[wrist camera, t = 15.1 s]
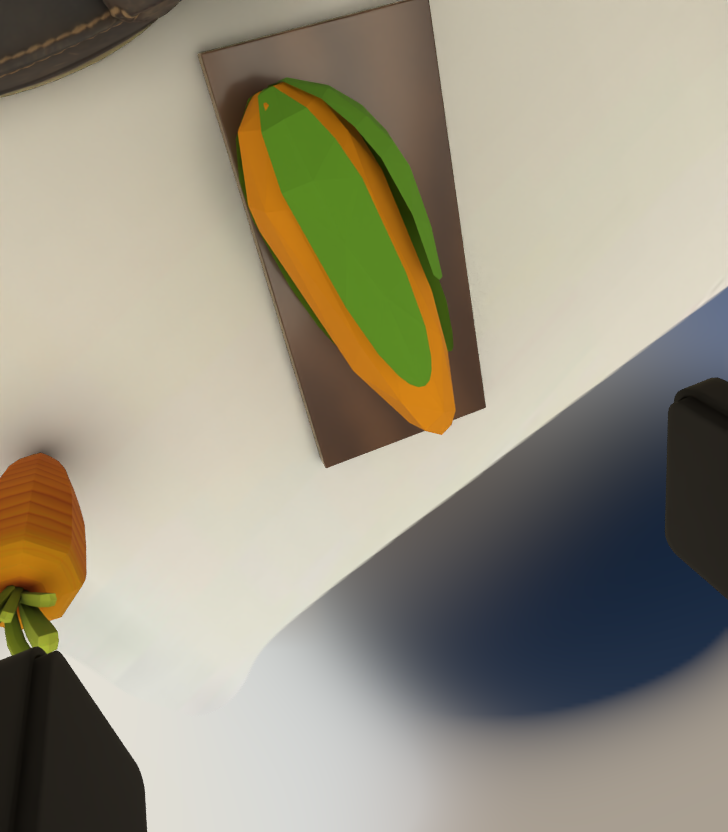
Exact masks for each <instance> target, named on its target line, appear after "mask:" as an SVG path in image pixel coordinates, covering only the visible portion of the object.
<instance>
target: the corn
mask: <svg viewBox="0 0 728 832" xmlns="http://www.w3.org/2000/svg"><path fill="white" fill-rule="evenodd" d="M282 81H283V82H282ZM236 149H237V161H238V173H239V182H240V185H241V188H242V191H243V194H244V197H245V200H246V203H247V206H248V209H249V212H250V215H251V218H252V220H253V222H254V224H255V225H256V227H257V229H258V231H259V233H260V234H261V236H262V238H263V240H264V242H265V243H266V245H267V247H268V249H269V250H270V252H271V254H272V256H273V258H274V259H275V261H276V263H277V265H278V267H279V268H280V270H281V272H282V274H283V276H284V277H285V279H286V281H287V283H288V284H289V286H290V287H291V289H292V290H293V292H294V293H295V294H296V296H297V297H298V299H299V300H300V302H301V303H302V304H303V306H304V307H305V309H306V310H307V311H308V313H309V314H310V316H311V317H312V319H313V320H314V321H315V323H316V324H317V326H318V327H319V328H320V329H321V330H322V331H323V332H324V333H325V335H326V336H327V337H328V338H329V339H330V340H331V341H332V342H333V343H334V344H336V346H337V347H338V349H339V350H340V352H341V353H342V355H343V356H344V358H345V359H346V361H347V362H348V364H349V365H350V367H351V368H352V370H353V371H354V372H355V373H356V374H357V375H358V376H359V377H360V378H361V379H362V380H364V381H365V382H366V383H367V384H368V385H369V386H370V387H371V388H372V389H373V390H374V391H376V392H377V393H378V394H379V395H380V396H381V397H382V398H383V399H384V400H385V401H386V402H387V403H389V404H390V405H391V406H392V407H393V408H394V409H395V410H396V411H397V412H398V413H399V414H400V415H402V416H403V417H404V418H405V419H406V420H407V421H408V422H409V423H411V424H413V425H415V426H417V427H419V428H421V429H423V430H425V431H428V432H432V433H436V434H440V435H442V434H443V433H444V432H445V431H446V430H447V429H448V428H449V427H450V426H451V424H452V421H453V418H454V414H455V411H456V410H455V402H454V395H453V387H452V380H451V372H450V364H449V357H448V351H452V349H453V333H452V327H451V322H450V316H449V311H448V306H447V301H446V298H445V295H444V292H443V289H442V287H441V284H440V281H439V280H440V279H441V277H442V272H441V268H440V263H439V259H438V254H437V250H436V245H435V241H434V236H433V232H432V227H431V224H430V221H429V218H428V216H427V213H426V210H425V207H424V204H423V201H422V199H421V196H420V193H419V190H418V187H417V185H416V182H415V179H414V176H413V173H412V171H411V168H410V166H409V164H408V162H407V161H406V159H405V158H404V156H403V155H402V153H401V152H400V150H399V149H398V147H397V146H396V144H395V143H394V141H393V140H392V138H391V137H390V135H389V133H388V132H387V130H386V129H385V128H384V127H383V126H382V125H381V124H380V123H379V122H378V121H377V120H376V119H375V118H374V117H373V116H372V115H371V114H370V113H369V112H368V111H367V109H366V108H365V107H364V106H363V105H361V104H360V103H358V102H356V101H355V100H353V99H351V98H350V97H348V96H346V95H345V94H343V93H341V92H340V91H338V90H336V89H334V88H333V87H331V86H329V85H326V84H320V83H315V82H309V81H304V80H299V79H293V78H288V77H286V78H284V79H282V80H280V81H277V83H274V84H271V85H268V88H265V89H263V90H262V91H260V92H257V93H255V94H254V95H253V96H251V97H250V98H249V99H248V101H247V104H246V108H245V111H244V114H243V117H242V120H241V123H240V127H239V130H238V133H237V136H236Z"/></svg>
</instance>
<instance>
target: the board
mask: <svg viewBox="0 0 728 832" xmlns="http://www.w3.org/2000/svg"><path fill="white" fill-rule="evenodd" d="M198 58H199V61H200V64H201V67H202V71H203V74H204V77H205V81H206V84H207V87H208V90H209V94H210V97H211V100H212V104H213V107H214V110H215V113H216V117H217V120H218V123H219V127H220V130H221V133H222V136H223V140H224V143H225V146H226V150H227V153H228V156H229V159H230V163H231V166H232V169H233V172H234V176H235V179H236V182H237V186H238V189H239V192H240V195H241V199H242V202H243V205H244V209H245V212H246V215H247V218H248V222H249V225H250V228H251V232H252V235H253V238H254V241H255V245H256V248H257V251H258V255H259V258H260V261H261V264H262V268H263V271H264V274H265V277H266V281H267V284H268V287H269V291H270V294H271V297H272V300H273V304H274V307H275V310H276V314H277V317H278V320H279V323H280V327H281V330H282V333H283V337H284V340H285V343H286V346H287V350H288V353H289V356H290V360H291V363H292V366H293V369H294V373H295V376H296V379H297V382H298V386H299V389H300V392H301V396H302V399H303V402H304V405H305V409H306V412H307V415H308V419H309V422H310V425H311V428H312V432H313V435H314V438H315V442H316V445H317V448H318V451H319V455H320V458H321V460H322V462H323V464H324V466H325V467H326V468H328V467H331V466H333V465H336V464H339V463H341V462H344V461H347V460H349V459H352V458H354V457H357V456H360V455H362V454H365V453H368V452H370V451H373V450H376V449H378V448H381V447H383V446H386V445H389V444H391V443H394V442H397V441H399V440H402V439H404V438H407V437H410V436H412V435H415V434H418V433H420V432H423V431H425V430H423V429H421V428H419V427H417V426H415V425H413V424H411V423H409V422H408V421H407V420H406V419H405V418H404V417H403V416H402V415H400V414H399V413H398V412H397V411H396V410H395V409H394V408H393V407H392V406H391V405H390V404H389V403H387V402H386V401H385V400H384V399H383V398H382V397H381V396H380V395H379V394H378V393H377V392H376V391H374V390H373V389H372V388H371V387H370V386H369V385H368V384H367V383H366V382H365V381H364V380H362V379H361V378H360V377H359V376H358V375H357V374H356V373H355V372H354V371H353V370H352V368H351V367H350V365H349V364H348V362H347V361H346V359H345V358H344V356H343V355H342V353H341V352H340V350H339V349H338V347H337V346H336V344H334V343H333V342H332V341H331V340H330V339H329V338H328V337H327V336H326V335H325V333H324V332H323V331H322V330H321V329H320V328H319V327H318V326H317V324H316V323H315V321H314V320H313V319H312V317H311V316H310V314H309V313H308V311H307V310H306V309H305V307H304V306H303V304H302V303H301V302H300V300H299V299H298V297H297V296H296V294H295V293H294V292H293V290H292V289H291V287H290V286H289V284H288V283H287V281H286V279H285V277H284V276H283V274H282V272H281V270H280V268H279V267H278V265H277V263H276V261H275V259H274V258H273V256H272V254H271V252H270V250H269V249H268V247H267V245H266V243H265V242H264V240H263V238H262V236H261V234H260V233H259V231H258V229H257V227H256V225H255V224H254V222H253V220H252V218H251V215H250V212H249V209H248V206H247V203H246V200H245V197H244V194H243V191H242V188H241V185H240V182H239V173H238V161H237V149H236V136H237V133H238V130H239V127H240V123H241V120H242V117H243V114H244V111H245V108H246V104H247V101H248V99H249V98H250V97H251V96H253V95H254V94H255V93H257V92H260V91H262V90H263V89H265V88H268V85H271V84H274V83H277V81H280V80H282V79H284V78H286V77H288V78H293V79H299V80H304V81H309V82H315V83H320V84H326V85H329V86H331V87H333V88H334V89H336V90H338V91H340V92H341V93H343V94H345V95H346V96H348V97H350V98H351V99H353V100H355V101H356V102H358V103H360V104H361V105H363V106H364V107H365V108H366V109H367V111H368V112H369V113H370V114H371V115H372V116H373V117H374V118H375V119H376V120H377V121H378V122H379V123H380V124H381V125H382V126H383V127H384V128H385V129H386V130H387V132H388V133H389V135H390V137H391V138H392V140H393V141H394V143H395V144H396V146H397V147H398V149H399V150H400V152H401V153H402V155H403V156H404V158H405V159H406V161H407V162H408V164H409V166H410V168H411V171H412V173H413V176H414V179H415V182H416V185H417V187H418V190H419V193H420V196H421V199H422V201H423V204H424V207H425V210H426V213H427V216H428V218H429V221H430V224H431V227H432V232H433V236H434V241H435V245H436V250H437V254H438V259H439V263H440V268H441V272H442V277H441V279H440V280H439V281H440V284H441V287H442V289H443V292H444V295H445V298H446V301H447V306H448V311H449V316H450V322H451V327H452V333H453V349H452V351H448V357H449V364H450V372H451V380H452V387H453V395H454V402H455V410H456V411H455V414H454V418H453V420H454V419H457V418H460V417H462V416H465V415H468V414H470V413H473V412H475V411H478V410H481V409H483V408H485V407H486V405H485V398H484V391H483V383H482V376H481V369H480V362H479V355H478V348H477V341H476V333H475V326H474V319H473V312H472V305H471V298H470V291H469V283H468V276H467V269H466V262H465V255H464V248H463V241H462V234H461V226H460V219H459V212H458V205H457V198H456V191H455V184H454V176H453V169H452V162H451V155H450V148H449V141H448V134H447V126H446V119H445V112H444V105H443V98H442V91H441V84H440V76H439V69H438V62H437V55H436V48H435V41H434V34H433V26H432V19H431V12H430V5H429V0H403V1H399V2H395V3H391V4H387V5H383V6H380V7H376V8H372V9H368V10H364V11H360V12H356V13H353V14H349V15H345V16H341V17H337V18H333V19H329V20H325V21H322V22H318V23H314V24H310V25H306V26H302V27H298V28H294V29H291V30H287V31H283V32H279V33H275V34H271V35H267V36H263V37H260V38H256V39H252V40H248V41H244V42H240V43H236V44H233V45H229V46H225V47H221V48H217V49H213V50H209V51H205V52H202V53H199V54H198ZM282 82H283V81H282Z"/></svg>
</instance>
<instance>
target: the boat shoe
mask: <svg viewBox="0 0 728 832" xmlns="http://www.w3.org/2000/svg"><path fill="white" fill-rule="evenodd" d="M180 1H181V0H0V97H5V96H9V95H13V94H16V93H19V92H23V91H26V90H29V89H32V88H35V87H38V86H41V85H44V84H47V83H50V82H52V81H55V80H58V79H60V78H63V77H65V76H67V75H70V74H72V73H74V72H76V71H79V70H81V69H83V68H85V67H87V66H90V65H92V64H94V63H96V62H98V61H100V60H102V59H103V58H105V57H107V56H108V55H110V54H112V53H113V52H115V51H116V50H118V49H119V48H121V47H123V46H124V45H126V44H127V43H129V42H130V41H132V40H133V39H134V38H136V37H137V36H138V35H140V34H141V33H142V32H143V31H145V30H146V29H147V28H148V27H149V26H150V25H151V24H152V23H154V22H155V21H156V20H157V19H158V18H160V17H161V16H163V15H165V14H167V13H168V12H169V11H170V10H172V9H173V8H174V7H175V6H176V5H177V4H178V3H179V2H180Z"/></svg>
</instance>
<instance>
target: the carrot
mask: <svg viewBox="0 0 728 832" xmlns="http://www.w3.org/2000/svg"><path fill="white" fill-rule="evenodd" d="M85 579H86V540H85V525H84V521H83V517H82V513H81V510H80V506H79V503H78V500H77V497H76V495H75V492H74V489H73V487H72V484H71V482H70V480H69V477H68V475H67V472H66V470H65V468H64V467H63V466H62V465H61V464H60V462H59V461H57V460H55V459H54V458H52V457H50V456H48V455H46V454H43V453H37V454H33V455H30V456H27V457H24V458H21V459H19V460H17V461H16V462H14V463H13V464H11V465H10V466H9V467H8V468H7V470H6V471H5V472H4V474H3V475H2V476H1V478H0V627H4V628H5V635H6V641H7V646H8V648H9V650H10V652H11V655H15V654H17V653H20V652H23V651H25V650H28V649H30V646H29V645H28V643H27V642H26V640H25V637H24V634H23V632H22V629H24V631H25V633H26V636H27V638H28V640H29V642H30V644H31V646H32V647H37V646H38V647H40V648H42V649H43V650H44V651H45V652H46V653H47V654H48V653H50V652H52V651H54V650H56V649H57V647H58V642H59V639H58V632H57V630H56V629H55V627H54V626H53V625H52V623H51V622H50V621H51V620H54V619H57V618H60V617H62V615H63V614H64V612H65V611H66V609H67V608H68V606H69V605H70V603H71V602H72V600H73V599H74V597H75V596H76V594H77V593H78V591H79V590H80V588H81V587H82V585H83V583H84V581H85Z"/></svg>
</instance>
